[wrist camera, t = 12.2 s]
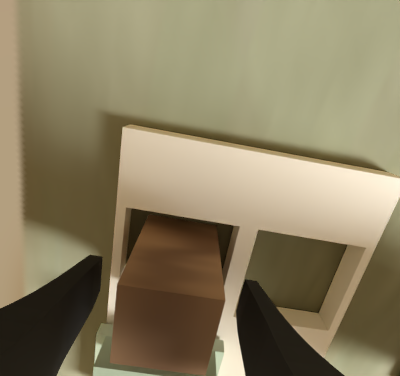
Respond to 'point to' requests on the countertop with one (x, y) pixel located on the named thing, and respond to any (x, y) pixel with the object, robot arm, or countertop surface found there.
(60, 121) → the countertop surface
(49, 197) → the countertop surface
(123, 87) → the countertop surface
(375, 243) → the puzzle board
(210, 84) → the countertop surface
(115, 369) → the lid
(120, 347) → the walnut block
